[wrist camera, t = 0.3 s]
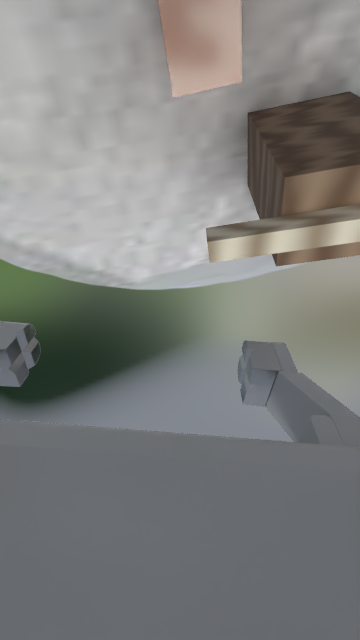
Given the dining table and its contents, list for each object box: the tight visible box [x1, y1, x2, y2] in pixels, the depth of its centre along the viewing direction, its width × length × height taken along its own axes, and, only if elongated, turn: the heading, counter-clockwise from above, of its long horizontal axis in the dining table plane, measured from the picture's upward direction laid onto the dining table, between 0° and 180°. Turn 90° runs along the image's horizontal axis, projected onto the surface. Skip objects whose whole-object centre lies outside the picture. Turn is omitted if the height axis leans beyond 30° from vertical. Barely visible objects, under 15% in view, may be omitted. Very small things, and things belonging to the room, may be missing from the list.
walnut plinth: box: [248, 92, 360, 266], centre depth 42 cm, size 16×12×26 cm
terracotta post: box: [158, 0, 242, 98], centre depth 34 cm, size 8×8×16 cm
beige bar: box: [206, 204, 360, 263], centre depth 33 cm, size 24×3×3 cm, turn 100°
